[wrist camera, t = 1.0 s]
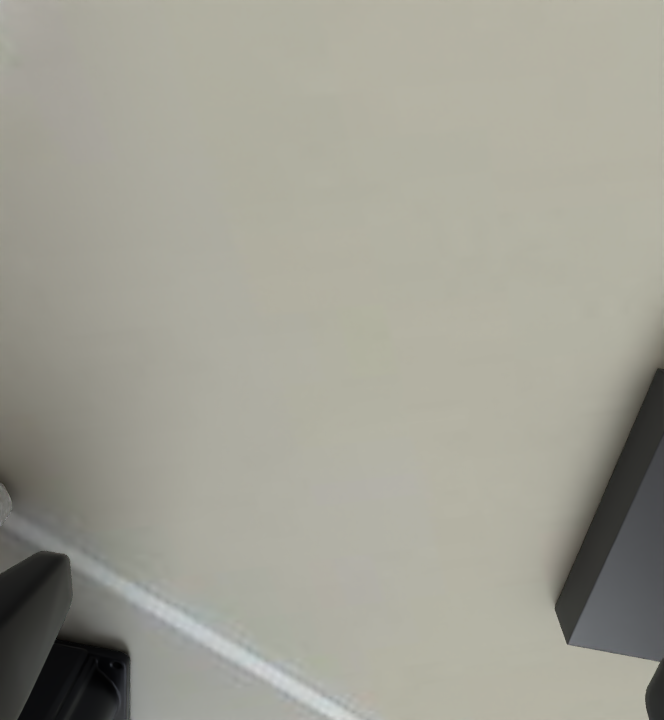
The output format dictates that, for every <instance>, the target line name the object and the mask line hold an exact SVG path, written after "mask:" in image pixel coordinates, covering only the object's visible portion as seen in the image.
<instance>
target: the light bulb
mask: <svg viewBox="0 0 664 720" xmlns="http://www.w3.org/2000/svg"><path fill="white" fill-rule="evenodd" d="M11 511H12V501H11V498H10V496H9V494H8V492H7V490H6V487H5V486H4V485H3V484H2V483H0V526H1V525H2V524H3V523H4V521H5V519H6V518H7V517H8V516H9V515H10V513H11Z"/></svg>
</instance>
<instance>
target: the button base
mask: <svg viewBox="0 0 664 720" xmlns="http://www.w3.org/2000/svg"><path fill="white" fill-rule="evenodd" d="M555 611H556V614H557V617H558V620H559V623H560V625H561V628H562V631H563V634H564V637H565V640H566V643H567V644H568V645H573V646H578V647H583V648H589V649H594V650H600V651H605V652H610V653H616V654H621V655H627V656H632V657H638V658H643V659H648V660H654V661H659V662H661V660H662V659H663V657H664V369H658V370H657V372H656V374H655V377H654V379H653V381H652V384H651V386H650V388H649V391H648V393H647V395H646V398H645V400H644V402H643V404H642V407H641V409H640V411H639V414H638V416H637V418H636V421H635V423H634V425H633V428H632V430H631V432H630V435H629V437H628V439H627V442H626V444H625V446H624V449H623V451H622V453H621V456H620V458H619V460H618V463H617V465H616V467H615V470H614V472H613V474H612V477H611V479H610V481H609V484H608V486H607V488H606V491H605V493H604V495H603V497H602V500H601V502H600V504H599V507H598V509H597V511H596V514H595V516H594V518H593V521H592V523H591V525H590V528H589V530H588V532H587V535H586V537H585V539H584V542H583V544H582V546H581V549H580V551H579V553H578V556H577V558H576V560H575V563H574V565H573V567H572V570H571V572H570V574H569V577H568V579H567V581H566V583H565V586H564V588H563V590H562V593H561V595H560V597H559V600H558V602H557V604H556V607H555Z"/></svg>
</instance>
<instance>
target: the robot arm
mask: <svg viewBox="0 0 664 720" xmlns="http://www.w3.org/2000/svg"><path fill="white" fill-rule="evenodd" d="M72 596H73V592H72V579H71V567H70V560H69V558H68V556H67V555H65V554H61V553H55V552H49V551H40V552H37V553H35V554H33V555H32V556H30V557H28V558H27V559H25V560H23V561H22V562H20V563H18V564H17V565H15V566H13V567H11V568H10V569H8V570H6V571H5V572H3V573H1V574H0V720H129V701H130V659H129V657H128V655H126V654H125V653H123V652H120V651H114V650H109V649H104V648H98V647H93V646H88V645H82V644H77V643H72V642H66V641H61V640H56V637H57V635H58V633H59V631H60V629H61V626H62V624H63V622H64V620H65V618H66V616H67V614H68V611H69V609H70V606H71V602H72ZM645 702H646V709H647V713H648V717H649V720H664V657H663V659H662V660H661V662H660V664H659V666H658V668H657V670H656V672H655V674H654V676H653V678H652V679H651V681H650V683H649V685H648V687H647V690H646V695H645Z"/></svg>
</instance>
